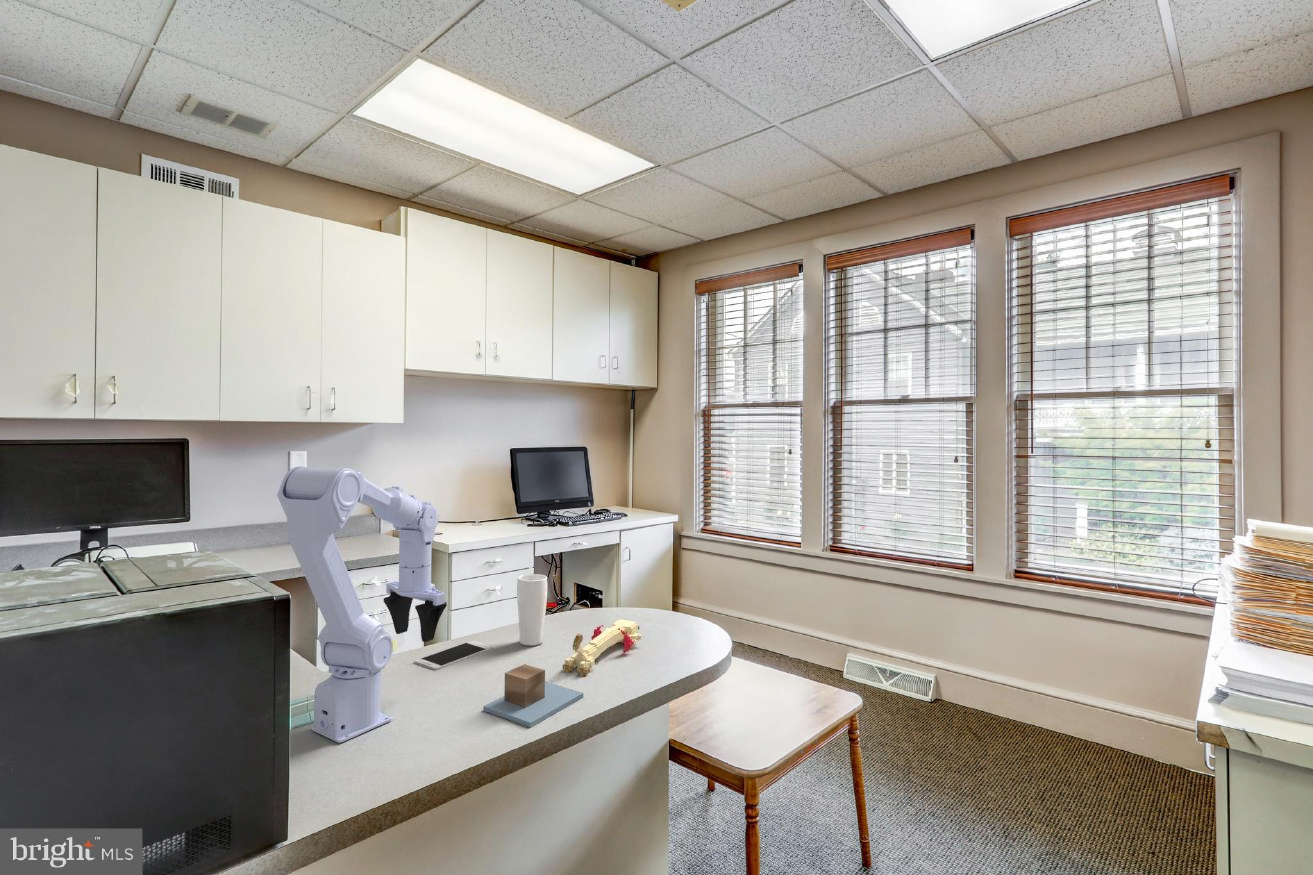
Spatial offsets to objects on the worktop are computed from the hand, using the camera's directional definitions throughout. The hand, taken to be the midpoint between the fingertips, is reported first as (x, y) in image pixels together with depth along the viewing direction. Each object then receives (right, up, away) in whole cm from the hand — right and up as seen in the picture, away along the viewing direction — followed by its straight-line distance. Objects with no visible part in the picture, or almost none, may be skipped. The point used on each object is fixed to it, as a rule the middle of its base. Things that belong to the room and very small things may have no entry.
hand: (414, 636), depth 120 cm
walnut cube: (+22, -9, -6) cm, 25 cm away
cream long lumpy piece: (+35, -10, +19) cm, 41 cm away
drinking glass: (+17, -9, +25) cm, 32 cm away
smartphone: (+3, -10, +16) cm, 19 cm away
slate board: (+24, -10, -6) cm, 27 cm away
